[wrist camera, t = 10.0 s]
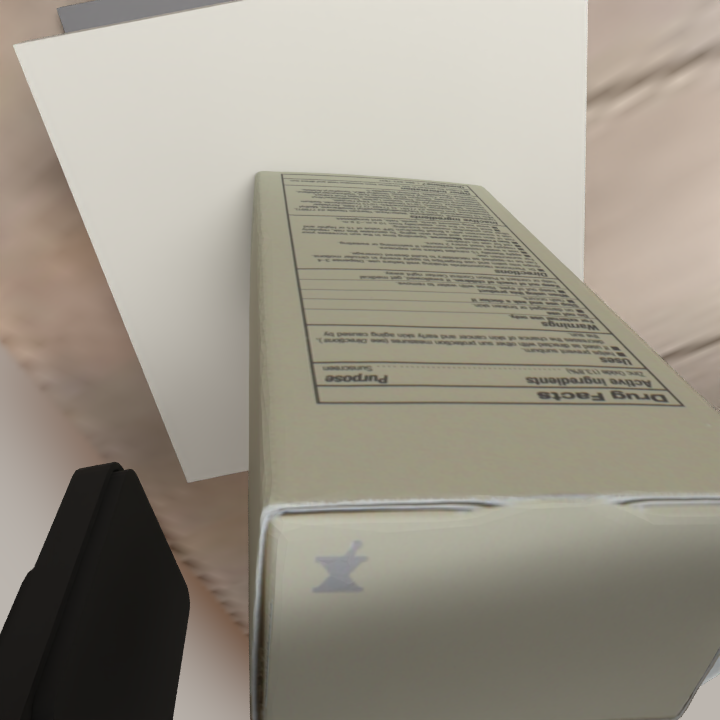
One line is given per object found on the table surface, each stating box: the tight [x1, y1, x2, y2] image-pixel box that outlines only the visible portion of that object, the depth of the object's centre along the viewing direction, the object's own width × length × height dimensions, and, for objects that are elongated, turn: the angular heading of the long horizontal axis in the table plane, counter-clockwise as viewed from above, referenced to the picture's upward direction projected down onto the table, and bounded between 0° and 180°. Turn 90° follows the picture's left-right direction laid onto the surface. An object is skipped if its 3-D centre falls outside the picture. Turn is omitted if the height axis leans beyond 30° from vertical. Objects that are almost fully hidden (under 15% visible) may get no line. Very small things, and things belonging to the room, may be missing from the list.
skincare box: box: [248, 171, 720, 720], centre depth 13 cm, size 6×4×12 cm
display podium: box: [13, 0, 588, 483], centre depth 21 cm, size 14×14×7 cm
